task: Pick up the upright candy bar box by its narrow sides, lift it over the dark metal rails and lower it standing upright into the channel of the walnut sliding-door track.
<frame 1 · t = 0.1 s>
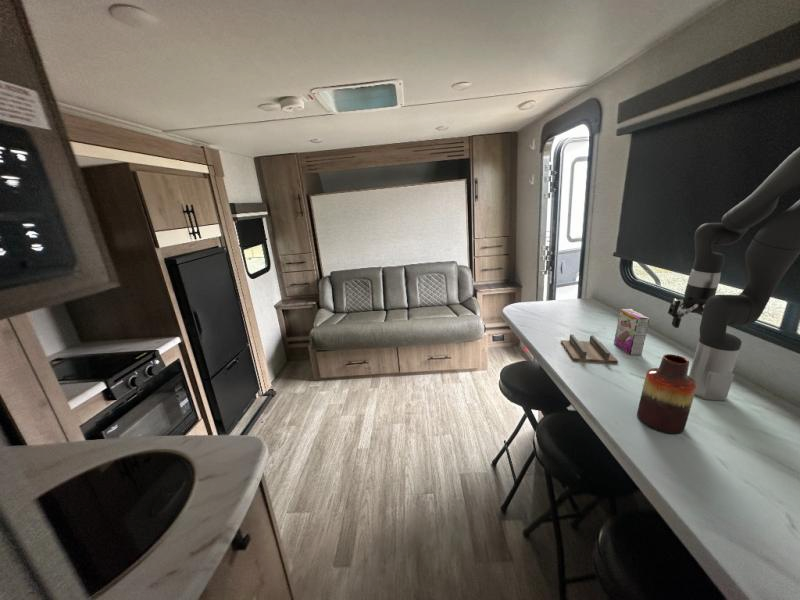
hand: (689, 327, 112), 17 cm above the worktop, tool pointing down, fingers open, 8 cm apart
door track: (587, 352, 133), on the worktop
vase: (659, 422, 92), on the worktop
candy bar box: (626, 349, 135), on the worktop
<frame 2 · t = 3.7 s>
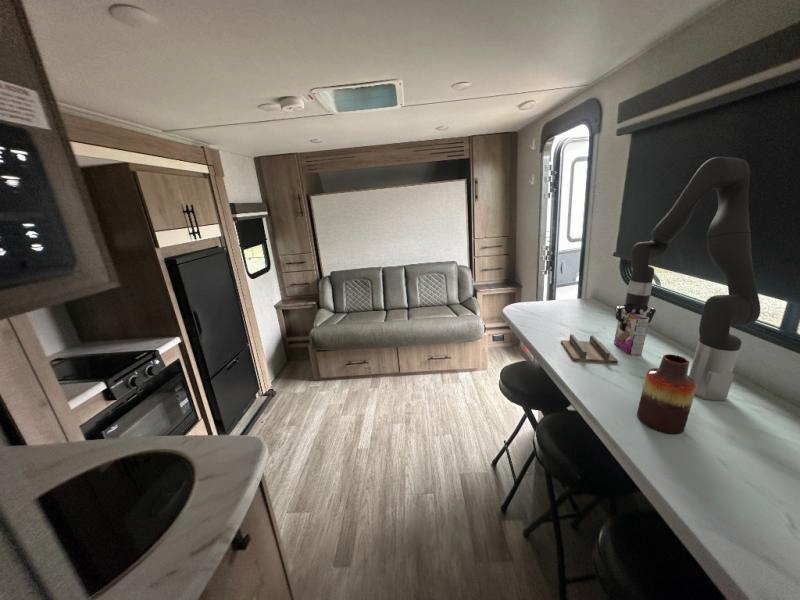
hand: (630, 330, 132), 8 cm above the worktop, tool pointing down, fingers closed on candy bar box, 5 cm apart
candy bar box: (626, 349, 135), on the worktop, touching gripper
everything else where it was.
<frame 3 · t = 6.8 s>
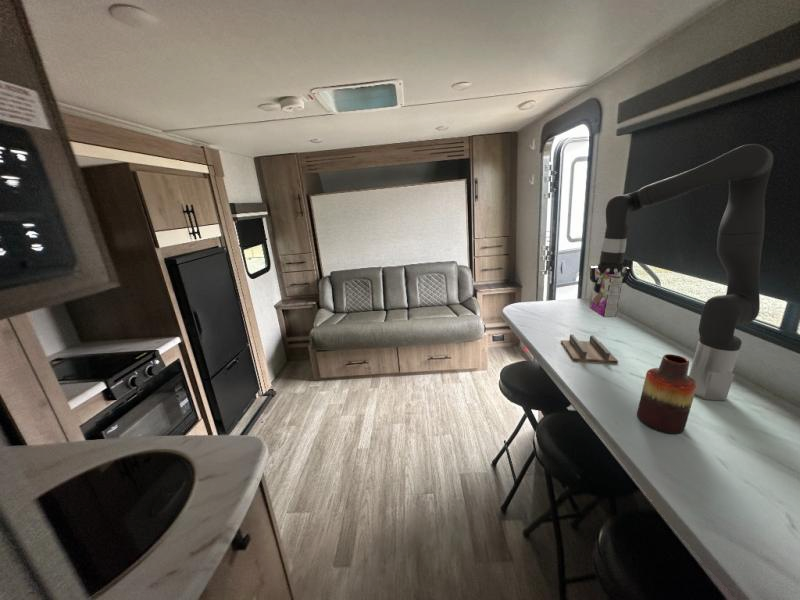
hand: (605, 292, 126), 26 cm above the worktop, tool pointing down, fingers closed on candy bar box, 5 cm apart
candy bar box: (601, 313, 129), point 17 cm above the worktop, touching gripper
everything else where it was.
when the fingers open (11 cm above the worktop, at t = 10.1 s): candy bar box drops 1 cm, resting on door track.
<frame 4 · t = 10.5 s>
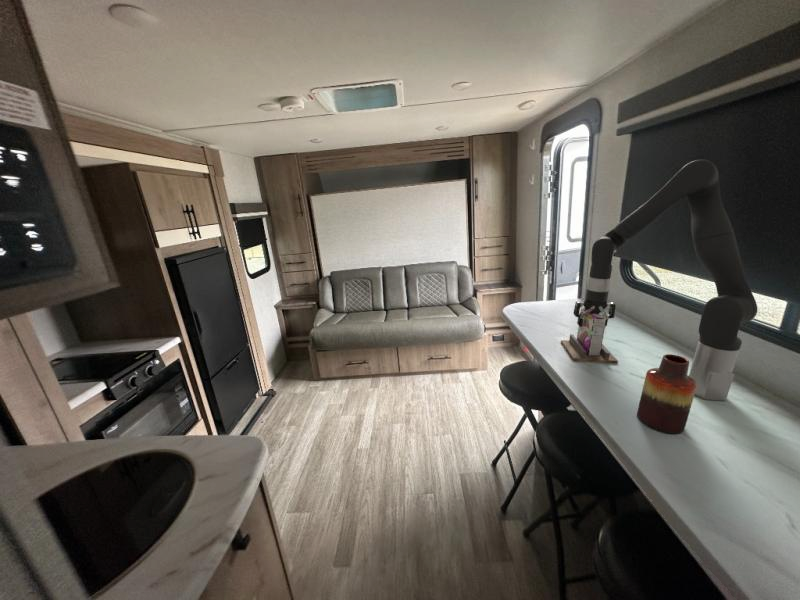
hand: (591, 326, 130), 12 cm above the worktop, tool pointing down, fingers open, 8 cm apart
candy bar box: (587, 350, 133), point 1 cm above the worktop, touching door track
everything else where it was.
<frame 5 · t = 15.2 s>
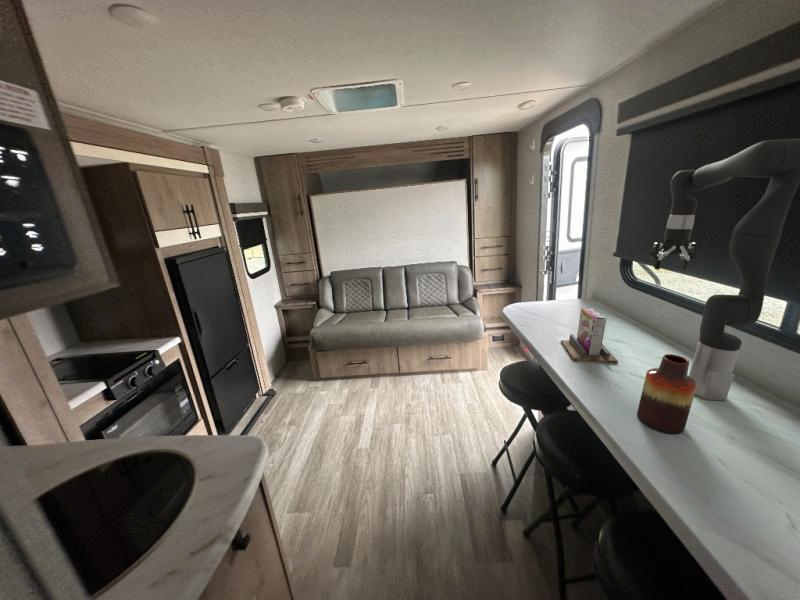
hand: (669, 269, 124), 34 cm above the worktop, tool pointing down, fingers open, 8 cm apart
nothing on the worktop moved.
at the end: candy bar box inside the target area on the door track (0.2 cm from its centre), point 1.0 cm above the door track's base; candy bar box tilted 0°; the gripper is holding nothing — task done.
